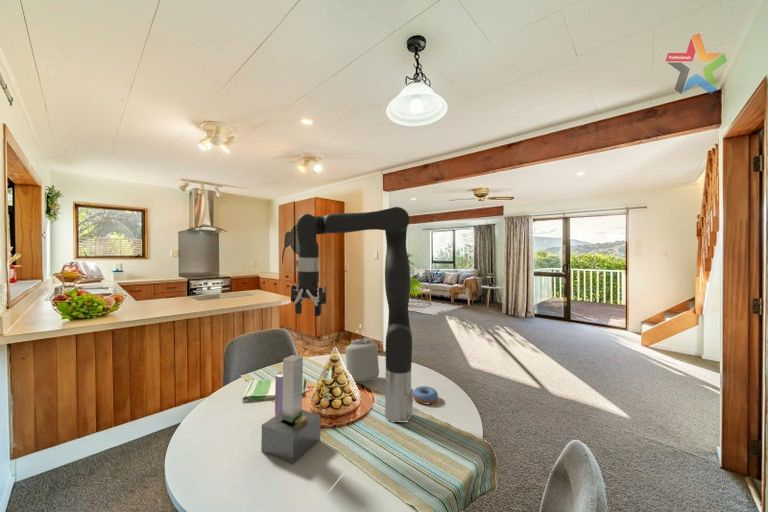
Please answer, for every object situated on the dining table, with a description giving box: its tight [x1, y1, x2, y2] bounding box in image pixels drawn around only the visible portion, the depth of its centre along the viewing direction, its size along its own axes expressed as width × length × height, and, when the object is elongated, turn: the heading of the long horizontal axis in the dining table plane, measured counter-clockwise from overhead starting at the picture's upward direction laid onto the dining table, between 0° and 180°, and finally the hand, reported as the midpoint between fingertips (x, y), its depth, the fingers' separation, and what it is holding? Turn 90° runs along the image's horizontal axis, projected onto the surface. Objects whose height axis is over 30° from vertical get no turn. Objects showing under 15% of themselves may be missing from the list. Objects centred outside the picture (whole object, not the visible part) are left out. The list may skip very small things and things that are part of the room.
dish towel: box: [241, 376, 306, 403], centre depth 125 cm, size 18×23×3 cm
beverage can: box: [274, 370, 283, 417], centre depth 106 cm, size 6×6×15 cm
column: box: [282, 354, 304, 423], centre depth 89 cm, size 4×4×18 cm
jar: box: [345, 324, 380, 383], centre depth 138 cm, size 19×15×25 cm
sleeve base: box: [260, 409, 322, 466], centre depth 89 cm, size 12×12×9 cm
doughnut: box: [413, 385, 439, 405], centre depth 119 cm, size 10×10×5 cm
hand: (307, 314), depth 106 cm, fingers open, 8 cm apart
